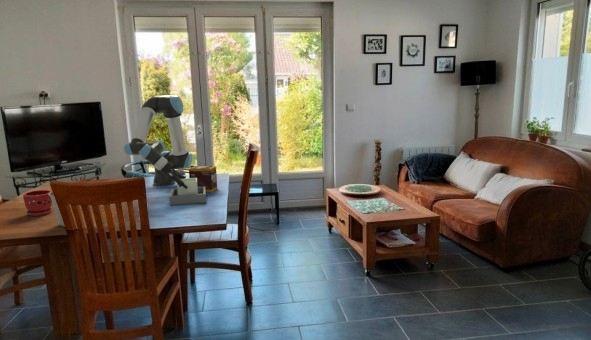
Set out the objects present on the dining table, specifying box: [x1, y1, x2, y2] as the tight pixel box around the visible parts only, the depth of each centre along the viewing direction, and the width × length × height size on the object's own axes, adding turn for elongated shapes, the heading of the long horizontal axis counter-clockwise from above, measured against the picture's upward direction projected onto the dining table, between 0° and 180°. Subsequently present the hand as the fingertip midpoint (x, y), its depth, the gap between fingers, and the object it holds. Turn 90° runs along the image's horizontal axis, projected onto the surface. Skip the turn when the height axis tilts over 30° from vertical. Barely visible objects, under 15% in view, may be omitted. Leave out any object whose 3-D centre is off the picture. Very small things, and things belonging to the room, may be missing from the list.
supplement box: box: [188, 165, 218, 193], centre depth 259 cm, size 10×15×16 cm
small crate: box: [176, 177, 198, 195], centre depth 233 cm, size 11×11×12 cm
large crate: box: [168, 187, 207, 207], centre depth 234 cm, size 20×20×6 cm
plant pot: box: [22, 189, 53, 217], centre depth 211 cm, size 13×13×12 cm
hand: (192, 189), depth 234 cm, fingers open, 13 cm apart
